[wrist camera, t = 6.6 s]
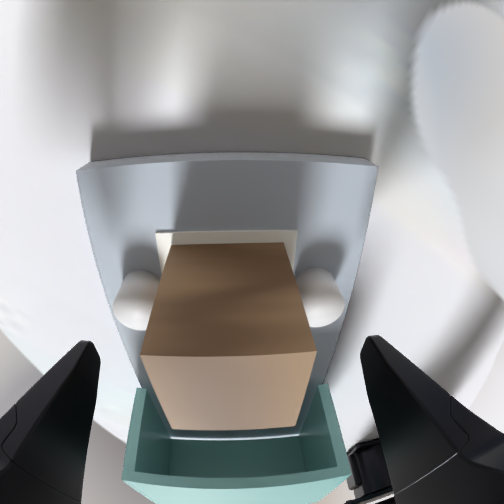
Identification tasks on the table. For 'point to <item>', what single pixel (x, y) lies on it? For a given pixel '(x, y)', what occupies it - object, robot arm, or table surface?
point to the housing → (236, 461)
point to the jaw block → (229, 338)
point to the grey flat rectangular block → (229, 237)
